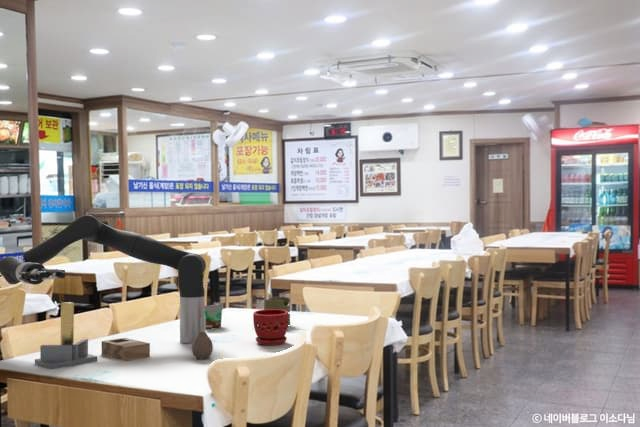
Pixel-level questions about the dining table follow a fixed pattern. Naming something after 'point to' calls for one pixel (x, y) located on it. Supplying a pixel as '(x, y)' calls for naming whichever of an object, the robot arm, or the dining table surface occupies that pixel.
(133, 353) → the brown wooden box
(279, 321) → the plant pot
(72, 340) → the axle
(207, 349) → the vase
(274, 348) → the dining table surface
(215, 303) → the food container
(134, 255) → the robot arm
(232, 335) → the dining table surface
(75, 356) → the v block
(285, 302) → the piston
